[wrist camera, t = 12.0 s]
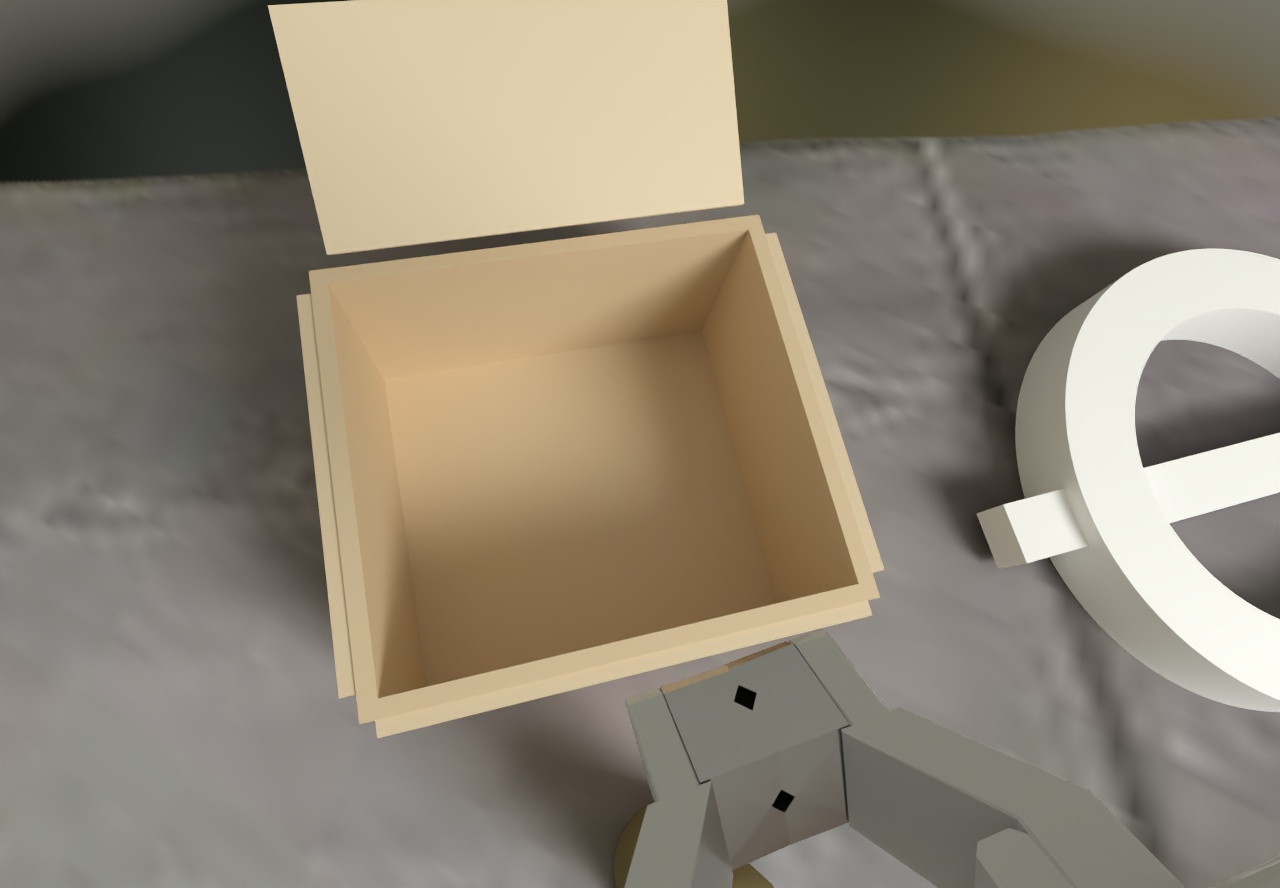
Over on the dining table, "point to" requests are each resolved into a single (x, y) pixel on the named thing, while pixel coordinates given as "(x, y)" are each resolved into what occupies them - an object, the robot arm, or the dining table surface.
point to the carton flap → (508, 114)
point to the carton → (571, 466)
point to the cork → (746, 879)
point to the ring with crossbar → (1147, 473)
